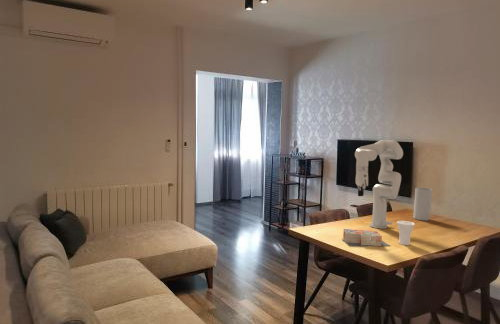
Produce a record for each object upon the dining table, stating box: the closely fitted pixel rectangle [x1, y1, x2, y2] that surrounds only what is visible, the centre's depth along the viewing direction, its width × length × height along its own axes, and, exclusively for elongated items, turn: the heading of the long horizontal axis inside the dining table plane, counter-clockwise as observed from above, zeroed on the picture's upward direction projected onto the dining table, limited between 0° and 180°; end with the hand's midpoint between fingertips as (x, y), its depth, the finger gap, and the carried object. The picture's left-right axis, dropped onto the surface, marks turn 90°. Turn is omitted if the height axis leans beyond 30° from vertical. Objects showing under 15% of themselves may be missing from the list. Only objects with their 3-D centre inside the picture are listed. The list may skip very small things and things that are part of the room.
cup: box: [396, 220, 415, 246], centre depth 232 cm, size 10×10×14 cm
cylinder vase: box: [412, 187, 433, 222], centre depth 301 cm, size 12×12×25 cm
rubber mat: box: [342, 239, 391, 247], centre depth 232 cm, size 26×13×1 cm, turn 98°
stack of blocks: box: [342, 228, 383, 247], centre depth 232 cm, size 21×6×12 cm
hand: (360, 195), depth 245 cm, fingers closed
